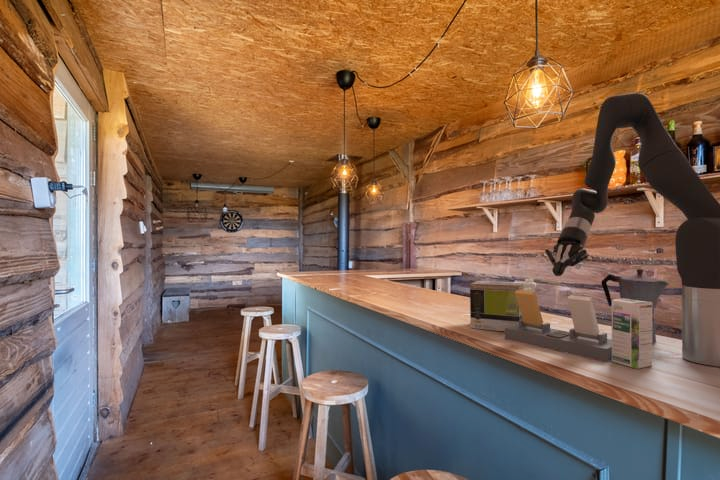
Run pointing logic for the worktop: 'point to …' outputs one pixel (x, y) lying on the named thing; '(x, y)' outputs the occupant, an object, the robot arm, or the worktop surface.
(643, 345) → the syrup box
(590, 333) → the toggle
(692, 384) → the worktop surface
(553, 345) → the toggle switch base
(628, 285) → the moka pot
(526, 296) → the toggle
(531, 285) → the strainer
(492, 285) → the tea box
